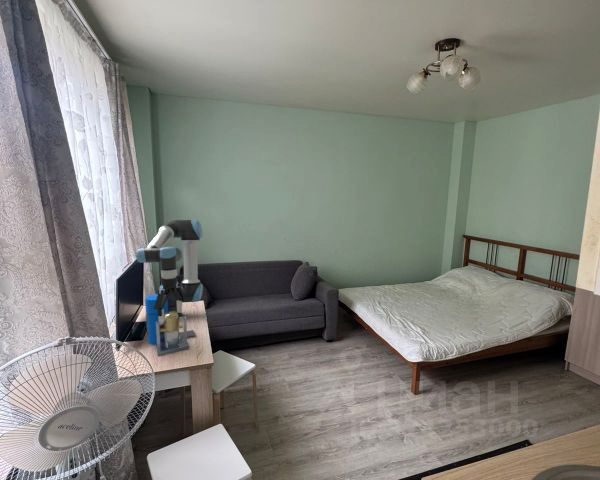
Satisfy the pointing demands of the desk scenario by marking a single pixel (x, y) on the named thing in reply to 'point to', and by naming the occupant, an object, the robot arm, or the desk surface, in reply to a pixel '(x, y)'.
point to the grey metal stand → (172, 340)
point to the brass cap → (171, 322)
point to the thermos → (153, 319)
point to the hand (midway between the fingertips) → (170, 317)
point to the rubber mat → (189, 334)
